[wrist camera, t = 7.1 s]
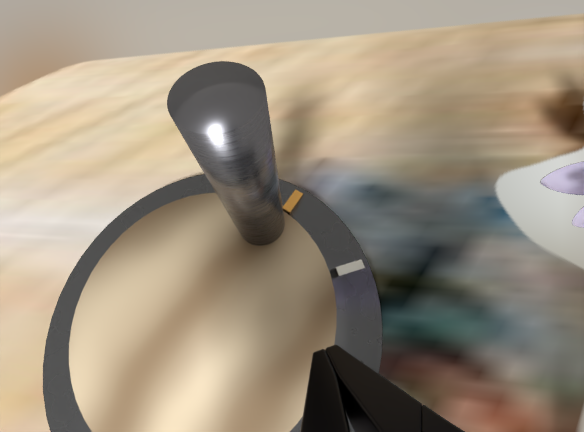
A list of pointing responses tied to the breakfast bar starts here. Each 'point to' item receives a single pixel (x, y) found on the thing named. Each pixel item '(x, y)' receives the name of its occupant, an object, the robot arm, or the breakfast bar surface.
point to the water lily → (568, 185)
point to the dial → (207, 287)
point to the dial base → (296, 202)
